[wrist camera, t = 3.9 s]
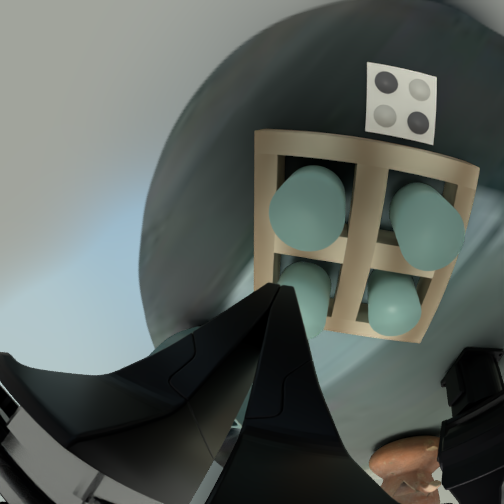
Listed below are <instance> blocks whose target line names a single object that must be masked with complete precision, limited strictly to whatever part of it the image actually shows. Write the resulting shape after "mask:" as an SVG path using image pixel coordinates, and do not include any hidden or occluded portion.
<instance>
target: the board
mask: <svg viewBox="0 0 504 504" xmlns="http://www.w3.org/2000/svg"><path fill="white" fill-rule="evenodd" d="M285 155H288V156H300V157H310V158H319V159H327V160H335V161H343V162H350V163H355V171H354V180H353V189H352V197H351V205H350V212H349V219H348V224H345V223H344V228H343V230H342V232H341V234H340V236H339V237H338V239H337V240H336V241H335V242H334V243H333V244H331V245H330V246H328V247H326V248H324V249H322V250H318V251H301V250H297V249H294V248H292V247H290V246H288V245H287V244H285V243H284V242H283V241H282V240H281V239H280V238H279V237H278V236H277V235H276V234H275V232H274V230H273V228H272V226H271V223H270V219H269V206H270V202H271V200H272V197H273V196H274V194H275V193H276V191H277V190H278V189H279V188H280V187H281V186H282V185H283V184H284V180H285ZM389 169H392V170H397V171H402V172H407V173H412V174H416V175H421V176H425V177H430V178H434V179H438V180H442V181H445V185H444V190H443V195H442V197H443V198H445V199H446V200H447V201H448V202H449V203H450V204H451V205H452V206H453V207H454V208H455V209H456V210H457V212H458V213H459V214H460V216H461V218H462V220H463V223H464V228H465V232H466V228H467V225H468V221H469V217H470V214H471V209H472V205H473V201H474V196H475V192H476V187H477V182H478V176H479V170H480V168H479V167H477V166H475V165H473V164H471V163H468V162H466V161H463V160H460V159H457V158H453V157H450V156H446V155H443V154H439V153H435V152H431V151H427V150H423V149H419V148H414V147H410V146H405V145H400V144H395V143H390V142H385V141H379V140H373V139H367V138H361V137H354V136H347V135H339V134H330V133H321V132H310V131H298V130H282V129H261V130H255V154H254V291H256V290H257V289H259V288H260V287H262V286H263V285H265V284H266V283H268V282H271V283H276V284H277V283H278V281H279V276H280V260H281V254H286V255H292V256H298V257H304V258H310V259H317V260H323V261H329V262H335V263H341V267H340V272H339V277H338V282H337V287H336V291H335V296H334V299H333V298H330V299H329V305H328V311H327V317H326V323H325V327H324V329H323V330H329V331H334V332H341V333H347V334H353V335H360V336H366V337H373V338H381V339H388V340H396V341H404V342H413V343H420V342H421V340H422V338H423V336H424V334H425V332H426V330H427V328H428V326H429V324H430V322H431V320H432V318H433V316H434V314H435V312H436V310H437V308H438V305H439V303H440V301H441V299H442V296H443V294H444V291H445V289H446V287H447V284H448V282H449V279H450V276H451V274H452V271H453V269H454V266H455V263H456V260H457V257H458V255H457V257H456V258H455V259H454V260H453V261H452V262H451V263H450V264H448V265H447V266H445V267H443V268H441V269H438V270H434V271H423V270H419V269H416V268H414V267H413V266H411V265H410V264H409V263H408V262H407V261H406V260H405V258H404V257H403V255H402V253H401V250H400V247H399V244H398V241H397V238H396V235H395V232H393V231H387V230H381V229H379V226H380V221H381V216H382V210H383V204H384V198H385V192H386V185H387V178H388V171H389ZM370 268H372V269H378V270H384V271H390V272H396V273H403V274H409V275H415V276H420V279H419V282H418V284H417V287H416V291H417V295H418V298H419V302H420V306H421V317H420V320H419V321H418V323H417V324H416V326H415V327H414V328H412V329H411V330H410V331H408V332H406V333H404V334H402V335H398V336H384V335H381V334H379V333H377V332H375V331H374V330H373V329H372V328H371V326H370V324H369V319H368V304H364V303H361V300H362V297H363V293H364V290H365V286H366V282H367V279H368V275H369V271H370Z"/></svg>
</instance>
